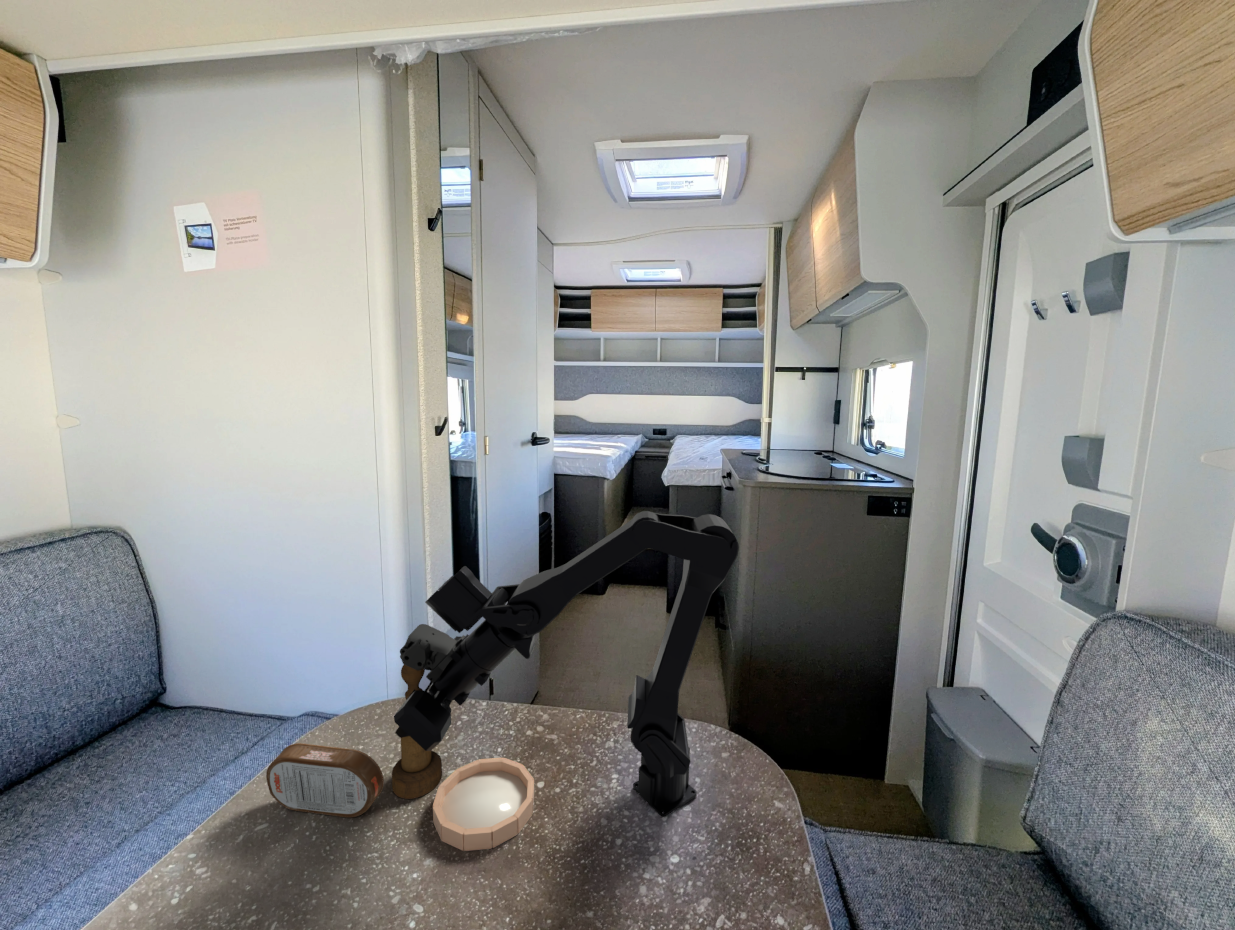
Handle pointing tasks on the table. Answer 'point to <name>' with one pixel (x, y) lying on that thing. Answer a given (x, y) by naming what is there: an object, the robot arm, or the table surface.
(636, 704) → the robot arm
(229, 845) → the table surface
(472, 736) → the table surface
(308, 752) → the tin
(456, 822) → the bowl
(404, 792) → the mortar and pestle
